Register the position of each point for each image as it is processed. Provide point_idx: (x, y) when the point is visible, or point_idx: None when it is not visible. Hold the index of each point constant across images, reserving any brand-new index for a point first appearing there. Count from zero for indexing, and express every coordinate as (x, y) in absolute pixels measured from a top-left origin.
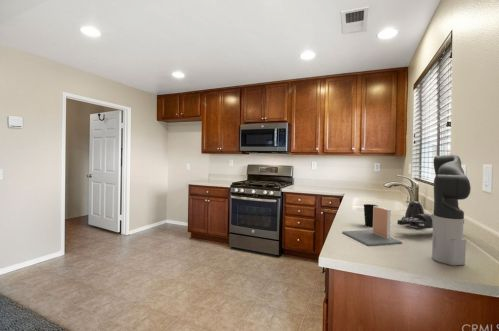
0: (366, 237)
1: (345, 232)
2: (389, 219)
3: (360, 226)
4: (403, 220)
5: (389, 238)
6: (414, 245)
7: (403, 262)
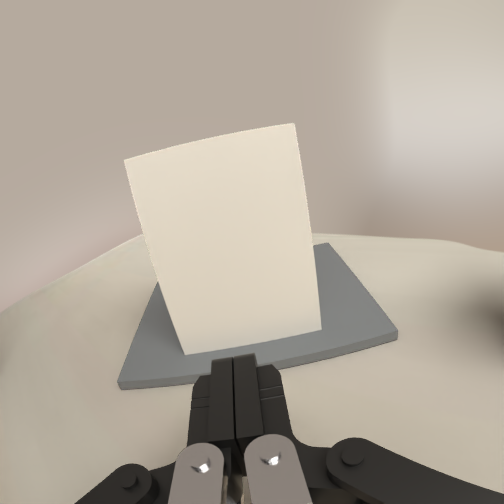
0: None
1: (313, 247)
2: (145, 231)
3: (494, 305)
4: (208, 400)
5: (184, 352)
6: (73, 425)
7: (44, 306)
